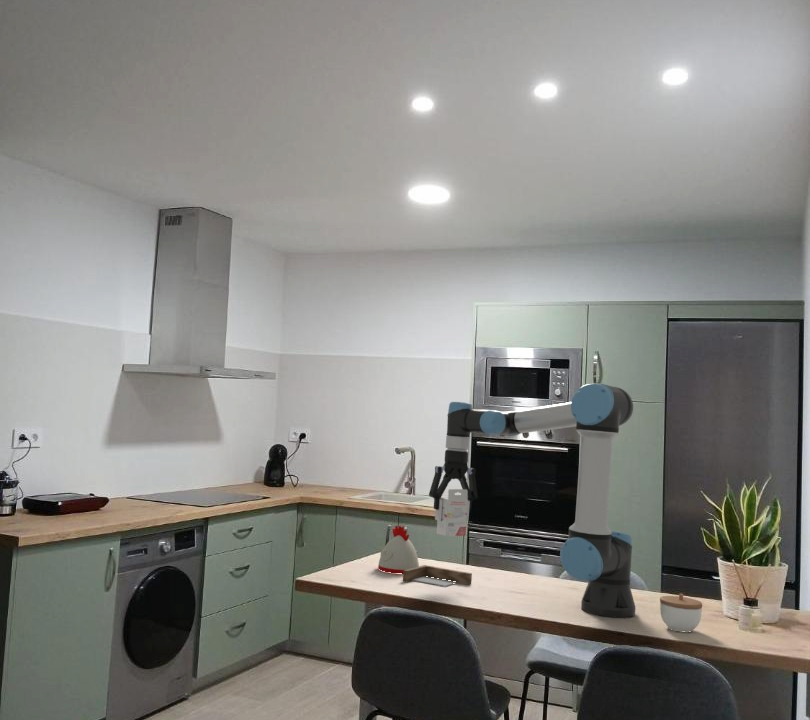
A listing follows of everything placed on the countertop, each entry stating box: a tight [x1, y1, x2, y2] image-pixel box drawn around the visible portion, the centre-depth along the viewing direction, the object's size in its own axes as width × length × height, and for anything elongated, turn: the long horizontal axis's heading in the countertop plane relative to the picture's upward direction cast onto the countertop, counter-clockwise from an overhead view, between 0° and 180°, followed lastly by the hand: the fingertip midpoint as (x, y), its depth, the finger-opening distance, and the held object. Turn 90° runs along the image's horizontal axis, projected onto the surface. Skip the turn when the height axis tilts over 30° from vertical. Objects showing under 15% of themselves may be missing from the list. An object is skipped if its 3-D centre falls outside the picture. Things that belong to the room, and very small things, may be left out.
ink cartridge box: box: [436, 488, 468, 537], centre depth 243 cm, size 9×5×15 cm, turn 127°
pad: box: [412, 576, 458, 587], centre depth 244 cm, size 12×8×1 cm, turn 60°
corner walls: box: [402, 564, 473, 585], centre depth 243 cm, size 18×14×4 cm
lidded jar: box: [659, 593, 703, 632], centre depth 204 cm, size 11×11×9 cm
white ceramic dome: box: [377, 525, 420, 574], centre depth 260 cm, size 14×14×15 cm
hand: (451, 520), depth 243 cm, fingers closed on ink cartridge box, 9 cm apart
